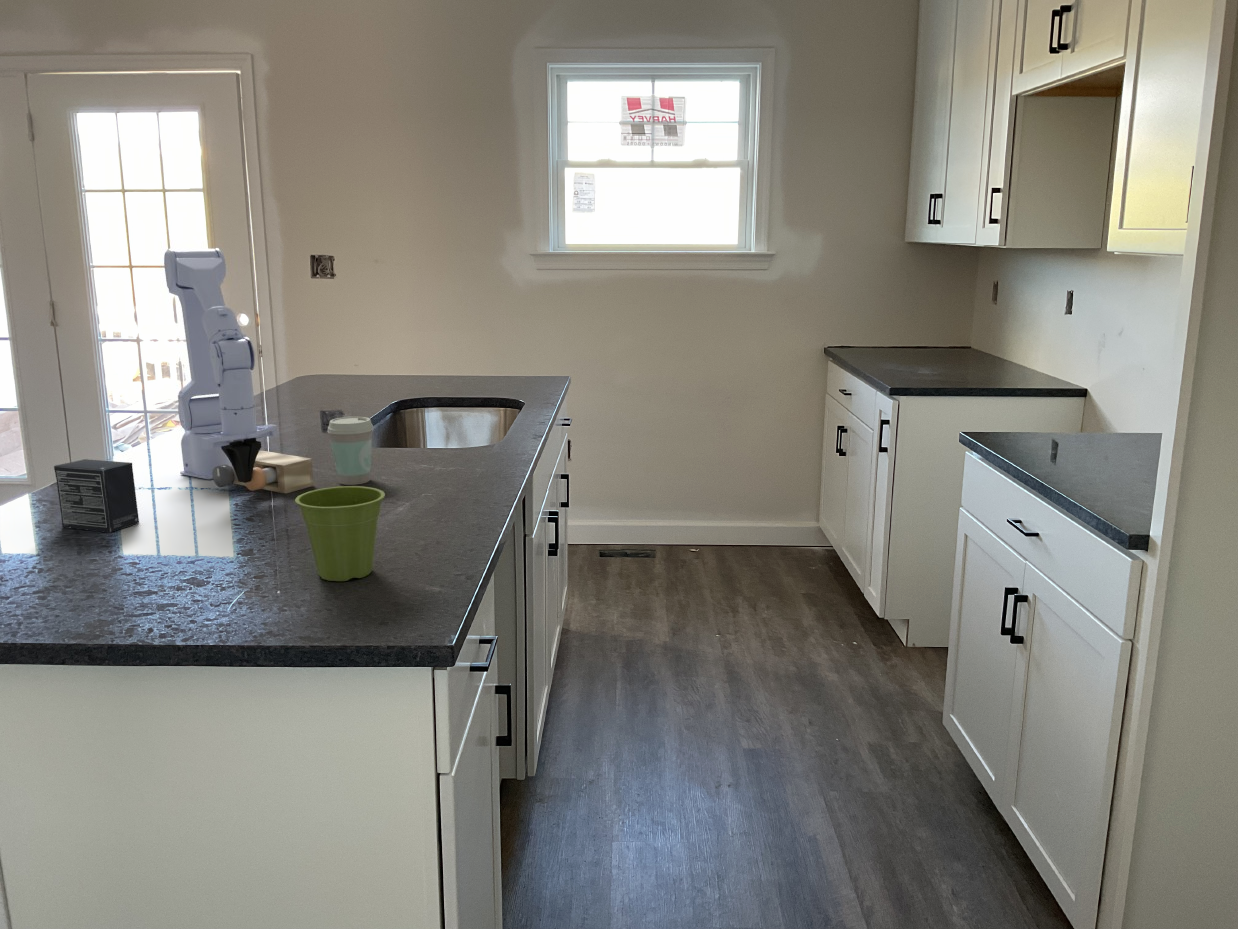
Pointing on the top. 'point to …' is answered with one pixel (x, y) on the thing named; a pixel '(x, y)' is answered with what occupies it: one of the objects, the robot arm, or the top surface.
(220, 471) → the charcoal knob
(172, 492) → the top surface
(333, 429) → the coffee cup
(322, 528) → the plant pot
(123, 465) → the small box
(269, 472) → the orange knob
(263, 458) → the mount
